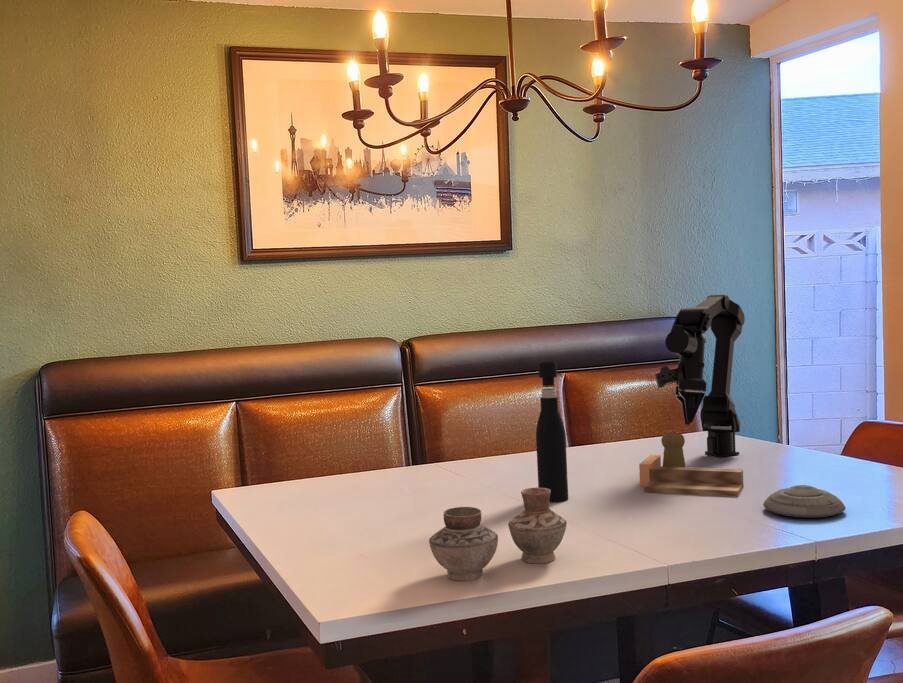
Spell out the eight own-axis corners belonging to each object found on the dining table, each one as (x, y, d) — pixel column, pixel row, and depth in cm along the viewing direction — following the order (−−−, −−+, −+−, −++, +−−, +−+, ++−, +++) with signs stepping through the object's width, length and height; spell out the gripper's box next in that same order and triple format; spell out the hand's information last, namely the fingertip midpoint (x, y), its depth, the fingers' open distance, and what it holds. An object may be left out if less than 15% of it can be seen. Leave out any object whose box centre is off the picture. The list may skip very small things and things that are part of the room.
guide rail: (748, 479, 207) (747, 457, 207) (738, 496, 192) (737, 473, 191) (650, 475, 216) (649, 454, 216) (633, 491, 201) (632, 469, 201)
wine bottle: (533, 498, 200) (527, 362, 198) (559, 494, 202) (553, 360, 200) (547, 504, 194) (541, 364, 192) (573, 500, 196) (567, 361, 194)
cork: (657, 478, 213) (655, 432, 212) (682, 476, 213) (681, 430, 213) (665, 484, 207) (664, 436, 206) (691, 482, 207) (690, 434, 207)
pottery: (581, 561, 153) (578, 491, 152) (452, 592, 141) (448, 516, 140) (543, 546, 163) (540, 480, 162) (419, 574, 151) (415, 503, 150)
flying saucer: (784, 500, 188) (783, 474, 187) (858, 510, 177) (857, 482, 177) (749, 515, 177) (748, 487, 177) (825, 527, 167) (825, 497, 166)
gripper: (656, 362, 231) (653, 423, 229) (658, 352, 213) (655, 418, 211) (701, 364, 229) (698, 426, 227) (708, 355, 211) (704, 422, 209)
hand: (688, 423), depth 218 cm, fingers open, 9 cm apart
